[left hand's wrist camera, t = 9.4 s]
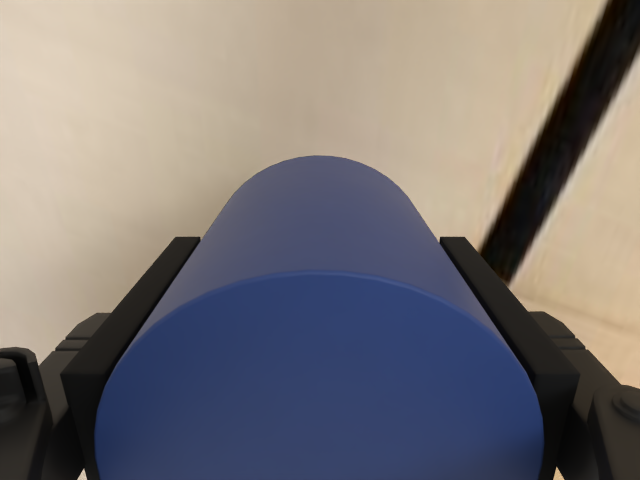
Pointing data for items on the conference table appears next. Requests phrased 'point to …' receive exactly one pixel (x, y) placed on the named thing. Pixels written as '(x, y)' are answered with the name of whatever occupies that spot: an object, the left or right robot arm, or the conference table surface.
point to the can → (319, 349)
